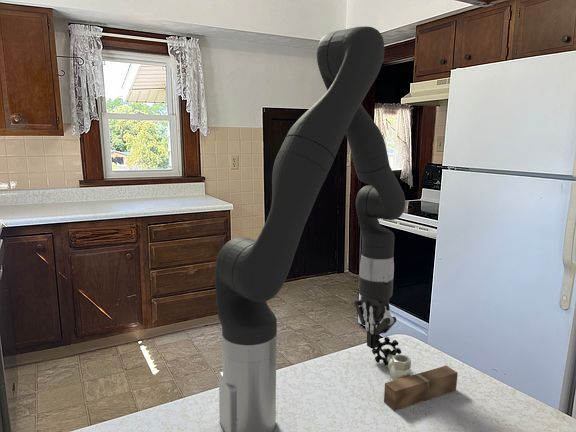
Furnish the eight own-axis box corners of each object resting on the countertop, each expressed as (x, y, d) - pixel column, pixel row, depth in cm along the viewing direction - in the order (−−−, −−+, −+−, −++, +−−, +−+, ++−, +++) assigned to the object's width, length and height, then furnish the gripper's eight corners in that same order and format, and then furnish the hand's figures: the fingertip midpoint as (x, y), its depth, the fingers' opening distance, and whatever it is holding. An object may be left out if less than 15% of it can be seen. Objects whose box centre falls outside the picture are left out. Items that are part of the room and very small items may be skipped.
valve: (418, 393, 84) (399, 363, 96) (421, 363, 83) (400, 336, 95) (386, 394, 84) (370, 363, 96) (388, 364, 83) (372, 336, 95)
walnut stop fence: (393, 411, 79) (395, 391, 78) (383, 402, 81) (384, 382, 81) (456, 390, 85) (457, 372, 85) (444, 383, 88) (446, 365, 87)
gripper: (345, 268, 98) (343, 338, 101) (381, 286, 87) (377, 363, 90) (371, 265, 102) (368, 332, 105) (409, 281, 90) (404, 356, 93)
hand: (372, 346), depth 97 cm, fingers closed
